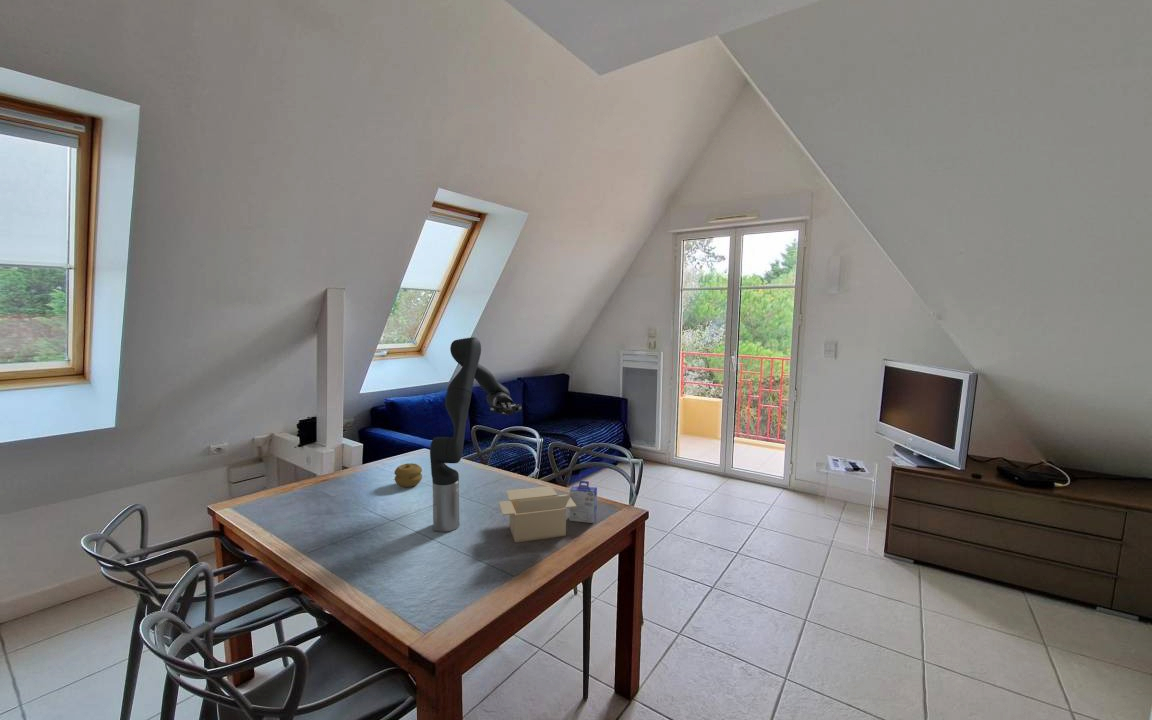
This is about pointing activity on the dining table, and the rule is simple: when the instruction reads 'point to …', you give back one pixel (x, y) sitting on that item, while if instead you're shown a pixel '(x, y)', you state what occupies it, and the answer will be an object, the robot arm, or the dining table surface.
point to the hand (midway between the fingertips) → (509, 412)
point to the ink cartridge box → (583, 503)
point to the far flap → (542, 504)
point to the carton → (535, 515)
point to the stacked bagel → (408, 475)
